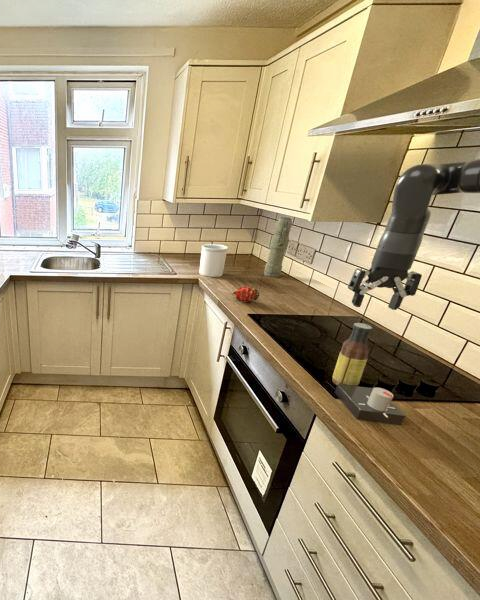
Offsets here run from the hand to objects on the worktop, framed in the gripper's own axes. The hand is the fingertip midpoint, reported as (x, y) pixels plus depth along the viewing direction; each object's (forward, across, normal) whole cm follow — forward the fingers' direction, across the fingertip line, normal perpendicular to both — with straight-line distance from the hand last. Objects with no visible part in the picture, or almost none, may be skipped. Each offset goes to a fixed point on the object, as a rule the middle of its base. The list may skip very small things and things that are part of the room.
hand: (373, 307), depth 86 cm
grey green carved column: (+26, +16, +113) cm, 117 cm away
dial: (+22, 0, -14) cm, 26 cm away
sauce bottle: (+26, 0, 0) cm, 26 cm away
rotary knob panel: (+26, 0, -11) cm, 28 cm away
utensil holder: (+26, -21, +108) cm, 113 cm away
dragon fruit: (+26, -12, +64) cm, 70 cm away
